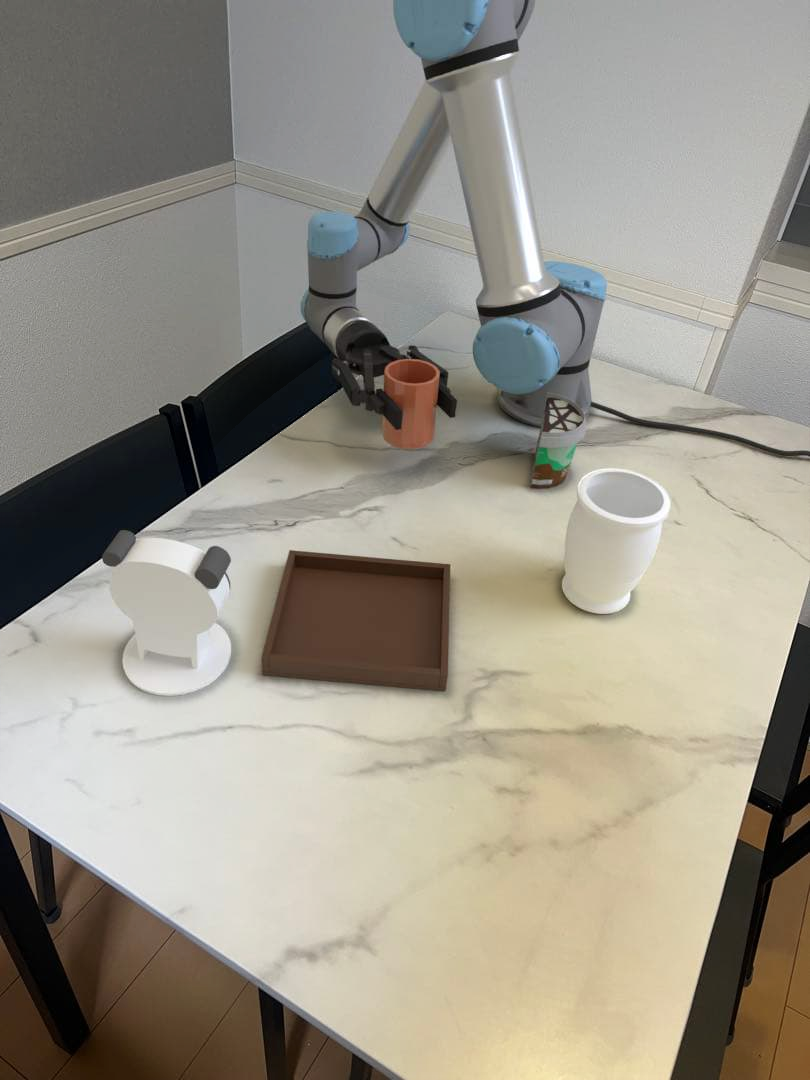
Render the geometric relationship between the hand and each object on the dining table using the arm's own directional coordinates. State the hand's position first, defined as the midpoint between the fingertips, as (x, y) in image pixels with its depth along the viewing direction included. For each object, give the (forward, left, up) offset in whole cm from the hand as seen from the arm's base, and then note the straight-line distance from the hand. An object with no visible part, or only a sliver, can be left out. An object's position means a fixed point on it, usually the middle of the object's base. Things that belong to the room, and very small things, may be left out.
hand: (426, 414), depth 107 cm
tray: (+6, +29, -11) cm, 31 cm away
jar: (-22, +20, -11) cm, 32 cm away
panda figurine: (+25, +36, -11) cm, 45 cm away
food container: (-19, -5, -11) cm, 23 cm away
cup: (+2, -4, -6) cm, 8 cm away
